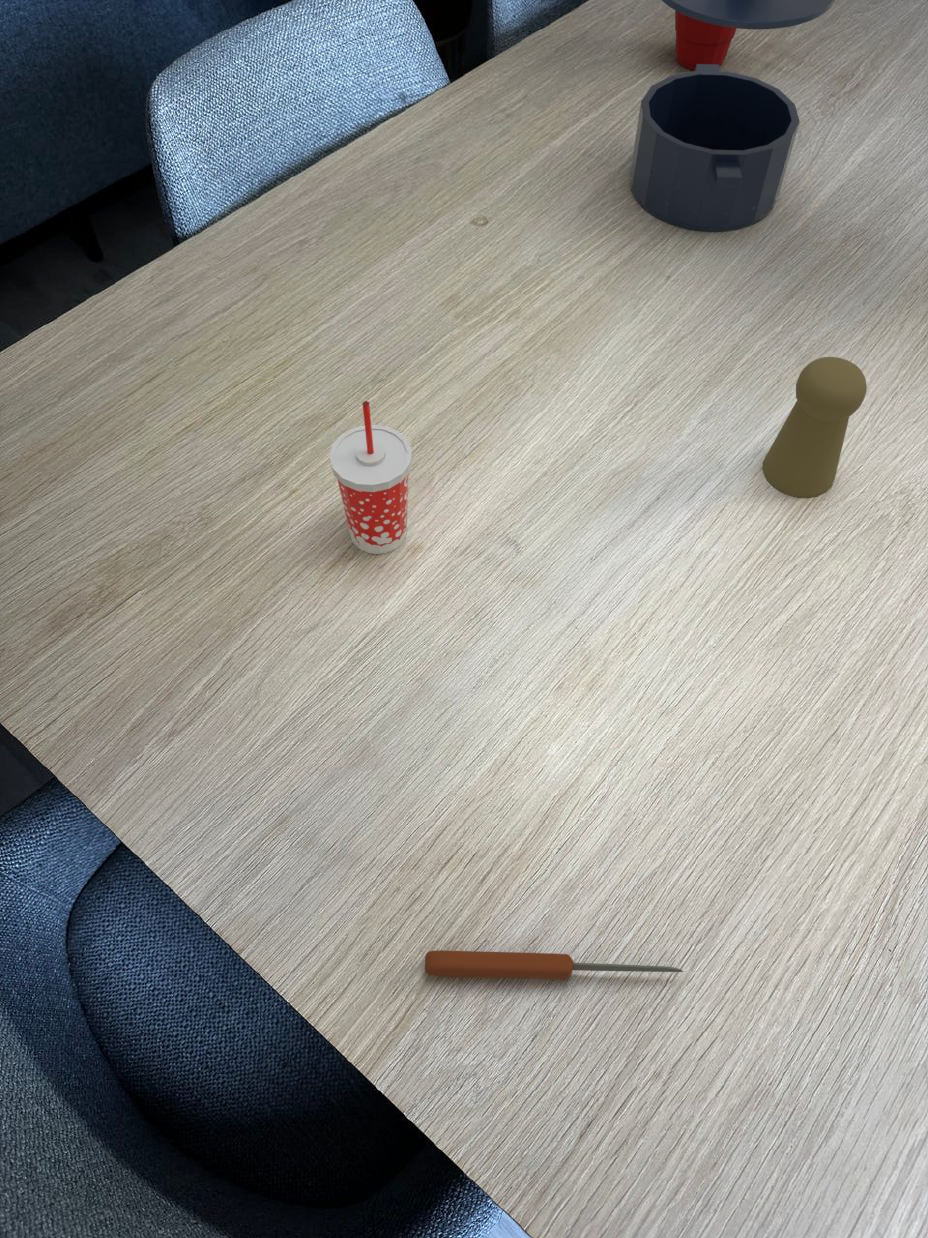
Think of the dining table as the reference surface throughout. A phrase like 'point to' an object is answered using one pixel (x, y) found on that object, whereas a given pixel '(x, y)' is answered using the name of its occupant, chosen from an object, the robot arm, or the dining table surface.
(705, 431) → the dining table surface
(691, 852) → the dining table surface
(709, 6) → the lid
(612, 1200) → the dining table surface
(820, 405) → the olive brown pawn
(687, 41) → the plastic cup
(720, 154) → the pot
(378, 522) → the beverage cup
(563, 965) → the orange-handled awl
